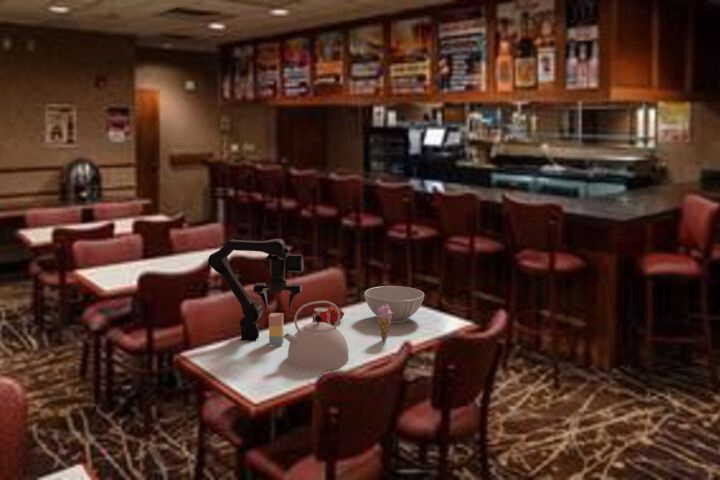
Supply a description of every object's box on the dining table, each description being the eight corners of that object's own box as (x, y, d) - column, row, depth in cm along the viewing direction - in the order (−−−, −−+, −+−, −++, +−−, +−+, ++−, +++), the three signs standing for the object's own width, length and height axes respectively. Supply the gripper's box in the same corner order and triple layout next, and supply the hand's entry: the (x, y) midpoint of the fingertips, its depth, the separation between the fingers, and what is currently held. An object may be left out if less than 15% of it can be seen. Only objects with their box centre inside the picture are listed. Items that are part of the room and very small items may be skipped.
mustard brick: (269, 336, 267) (269, 326, 266) (271, 332, 272) (270, 322, 271) (281, 336, 267) (281, 326, 266) (283, 332, 272) (283, 322, 271)
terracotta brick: (268, 326, 266) (268, 316, 266) (271, 322, 271) (271, 312, 270) (281, 326, 266) (281, 316, 265) (283, 322, 271) (283, 313, 270)
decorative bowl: (426, 328, 291) (426, 301, 289) (363, 327, 292) (363, 300, 289) (421, 311, 318) (421, 286, 316) (364, 310, 318) (364, 285, 316)
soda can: (327, 340, 274) (327, 312, 272) (310, 339, 275) (310, 311, 273) (331, 335, 281) (331, 307, 279) (315, 334, 282) (315, 306, 280)
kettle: (294, 375, 237) (293, 313, 233) (273, 355, 257) (273, 297, 253) (358, 365, 248) (359, 305, 244) (334, 346, 268) (334, 291, 264)
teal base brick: (269, 346, 267) (269, 336, 267) (271, 341, 272) (270, 332, 272) (282, 346, 267) (281, 336, 267) (283, 342, 272) (283, 332, 272)
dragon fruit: (318, 328, 296) (341, 327, 302) (327, 320, 290) (351, 320, 296) (314, 309, 299) (337, 310, 306) (323, 302, 293) (347, 302, 300)
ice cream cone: (395, 339, 277) (395, 303, 274) (389, 343, 271) (389, 307, 268) (380, 337, 279) (380, 301, 277) (374, 341, 274) (374, 305, 271)
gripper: (250, 275, 262) (251, 314, 265) (298, 275, 262) (298, 314, 264) (255, 268, 273) (256, 306, 276) (301, 269, 272) (302, 307, 275)
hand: (278, 308), depth 273 cm, fingers open, 9 cm apart
